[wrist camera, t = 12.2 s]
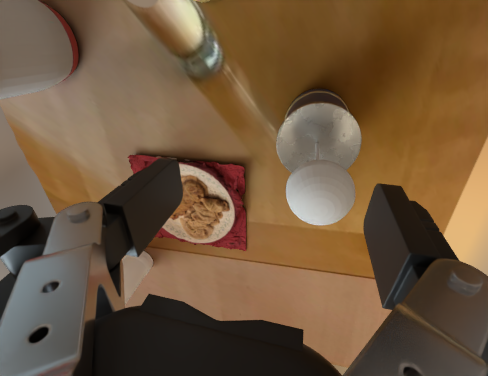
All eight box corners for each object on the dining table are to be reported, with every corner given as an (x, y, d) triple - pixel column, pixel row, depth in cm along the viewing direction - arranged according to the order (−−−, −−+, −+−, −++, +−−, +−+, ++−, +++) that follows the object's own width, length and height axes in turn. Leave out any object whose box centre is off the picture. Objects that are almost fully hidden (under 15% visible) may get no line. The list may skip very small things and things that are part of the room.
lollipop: (348, 155, 32) (371, 229, 20) (305, 172, 35) (302, 247, 22) (330, 112, 30) (342, 165, 18) (286, 133, 33) (269, 193, 20)
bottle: (144, 246, 71) (51, 361, 46) (158, 266, 74) (79, 383, 49) (124, 250, 74) (27, 359, 49) (139, 269, 77) (55, 381, 52)
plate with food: (132, 151, 55) (122, 157, 52) (245, 163, 49) (241, 171, 47) (154, 233, 68) (146, 241, 65) (246, 250, 62) (242, 260, 59)
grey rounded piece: (300, 76, 40) (296, 89, 30) (362, 100, 40) (379, 122, 30) (275, 135, 46) (265, 163, 36) (329, 157, 45) (334, 191, 35)
